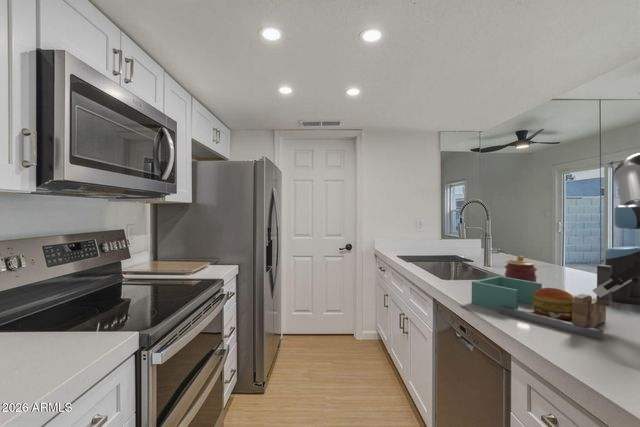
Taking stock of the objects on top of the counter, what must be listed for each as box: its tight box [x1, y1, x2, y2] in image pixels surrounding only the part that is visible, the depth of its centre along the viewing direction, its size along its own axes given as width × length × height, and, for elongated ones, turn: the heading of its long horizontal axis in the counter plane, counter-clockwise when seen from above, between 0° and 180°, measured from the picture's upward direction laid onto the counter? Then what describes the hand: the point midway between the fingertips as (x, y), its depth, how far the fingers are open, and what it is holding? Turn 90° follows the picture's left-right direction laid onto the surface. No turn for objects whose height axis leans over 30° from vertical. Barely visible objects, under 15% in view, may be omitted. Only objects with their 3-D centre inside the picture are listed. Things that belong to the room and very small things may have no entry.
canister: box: [504, 255, 538, 282], centre depth 146 cm, size 13×13×18 cm
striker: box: [571, 264, 613, 328], centre depth 100 cm, size 23×6×20 cm, turn 124°
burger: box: [531, 287, 575, 320], centre depth 113 cm, size 13×14×10 cm
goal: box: [471, 275, 543, 311], centre depth 127 cm, size 22×17×9 cm
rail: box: [497, 306, 605, 341], centre depth 104 cm, size 2×30×2 cm, turn 34°
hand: (603, 291), depth 101 cm, fingers open, 13 cm apart
